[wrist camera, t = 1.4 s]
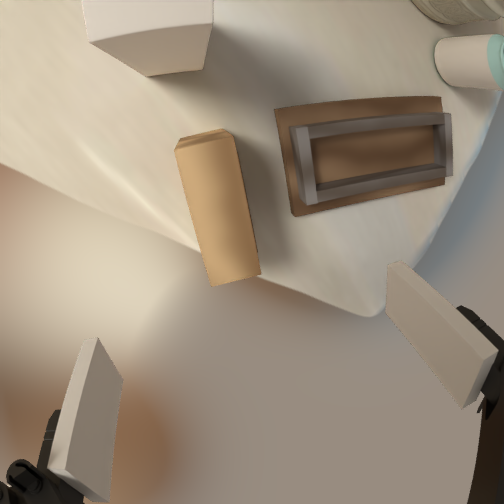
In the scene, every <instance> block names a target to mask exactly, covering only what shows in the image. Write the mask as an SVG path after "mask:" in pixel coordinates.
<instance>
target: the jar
mask: <svg viewBox="0 0 504 504" xmlns="http://www.w3.org/2000/svg"><path fill="white" fill-rule="evenodd" d="M412 2H413V3H414V4H415V5H416V6H417V7H418V8H419V9H420V10H421V11H422V12H423V13H424V14H425V15H427V16H428V17H430V18H431V19H433V20H435V21H437V22H440V23H444V24H451V25H458V24H464V23H467V22H472V21H481V20H488V21H495V20H497V19H499V18H500V17H503V18H504V0H412Z"/></svg>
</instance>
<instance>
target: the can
mask: <svg viewBox="0 0 504 504" xmlns="http://www.w3.org/2000/svg"><path fill="white" fill-rule="evenodd" d="M434 57H435V63H436V67H437V69H438V72H439V74H440V75H441V77H442V78H443V79H444V80H445V81H446V82H447V83H448V84H450V85H452V86H456V87H469V88H480V89H490V90H498V91H504V36H502V35H500V34H487V35H471V36H460V37H450V38H443V39H441V40H440V41H439V42H438V43H437V45H436V47H435V53H434Z"/></svg>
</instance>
